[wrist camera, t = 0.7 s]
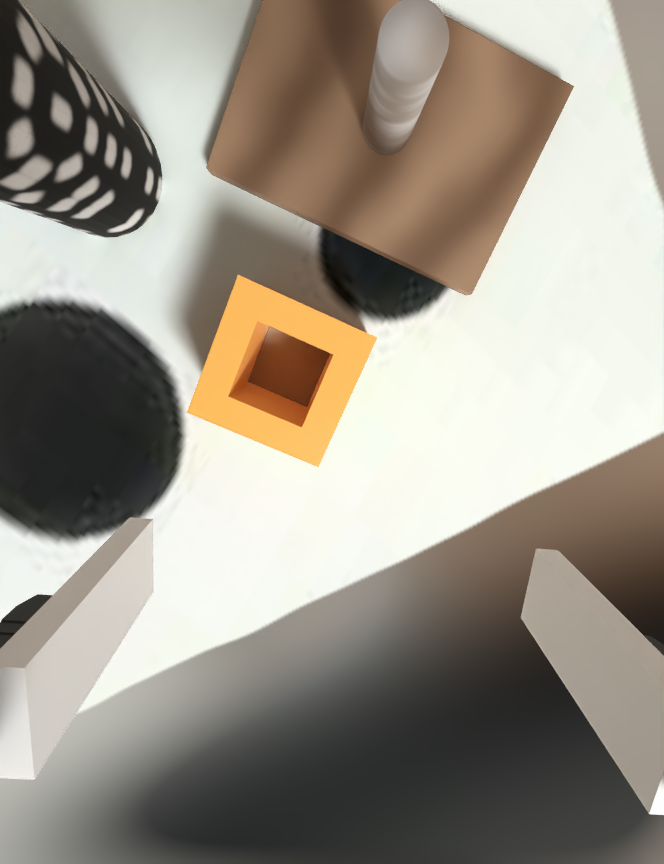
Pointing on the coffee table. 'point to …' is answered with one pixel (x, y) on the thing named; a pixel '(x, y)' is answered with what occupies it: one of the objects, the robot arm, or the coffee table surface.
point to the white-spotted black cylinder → (68, 137)
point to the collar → (262, 409)
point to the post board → (385, 192)
